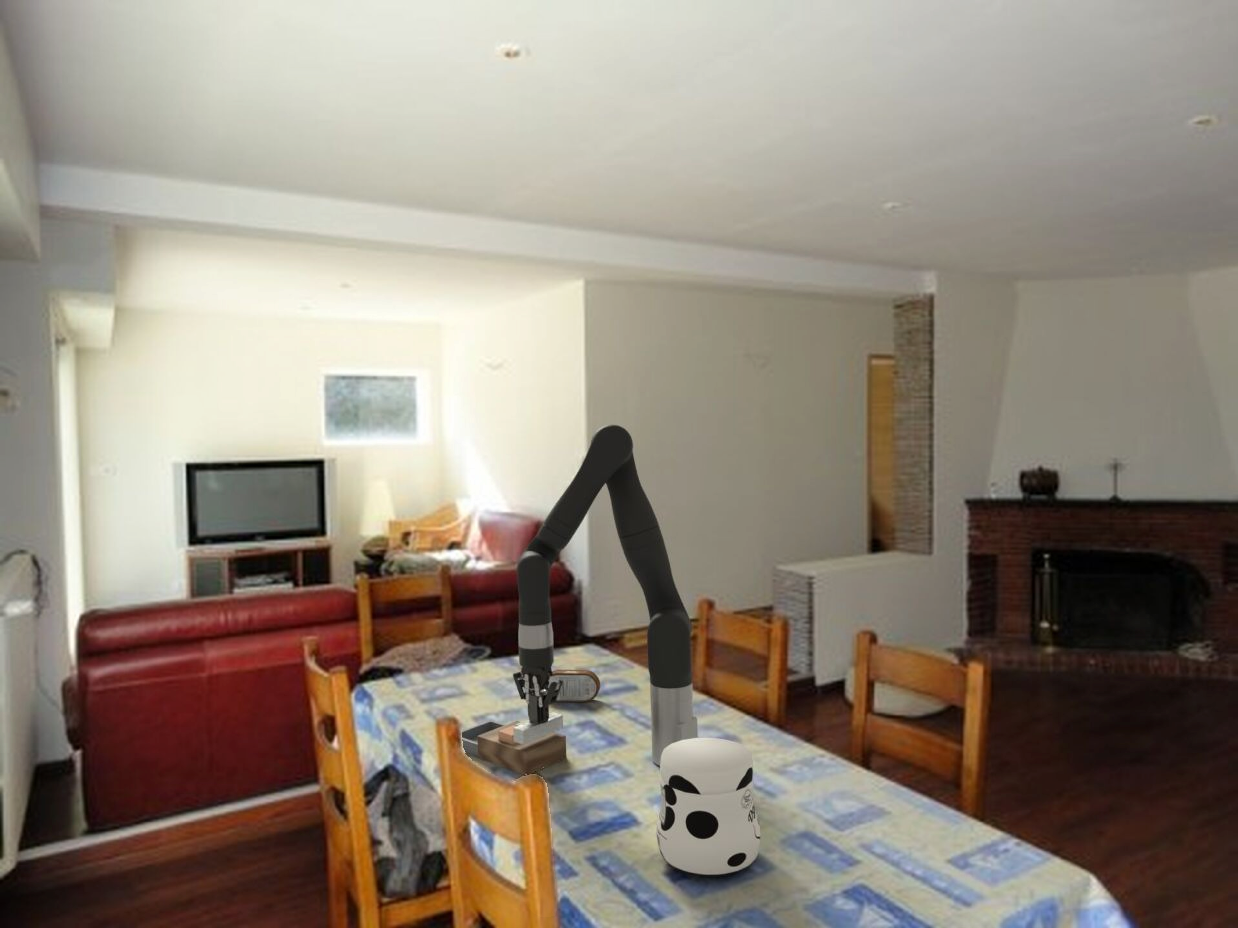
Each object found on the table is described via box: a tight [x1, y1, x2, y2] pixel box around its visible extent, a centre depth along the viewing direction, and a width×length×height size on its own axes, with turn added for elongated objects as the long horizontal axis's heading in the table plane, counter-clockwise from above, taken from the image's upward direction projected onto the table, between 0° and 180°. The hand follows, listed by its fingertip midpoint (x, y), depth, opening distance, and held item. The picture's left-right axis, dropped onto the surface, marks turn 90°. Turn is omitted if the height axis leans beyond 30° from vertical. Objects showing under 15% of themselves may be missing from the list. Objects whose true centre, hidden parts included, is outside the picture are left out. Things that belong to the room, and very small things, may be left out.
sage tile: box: [515, 718, 530, 726], centre depth 188 cm, size 4×4×2 cm
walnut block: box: [477, 720, 568, 776], centre depth 186 cm, size 16×12×5 cm
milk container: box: [656, 737, 761, 878], centre depth 139 cm, size 17×17×18 cm
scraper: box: [513, 693, 564, 745], centre depth 182 cm, size 3×12×9 cm, turn 139°
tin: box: [552, 669, 601, 703], centre depth 224 cm, size 15×3×8 cm, turn 84°
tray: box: [461, 719, 507, 759], centre depth 195 cm, size 10×12×3 cm
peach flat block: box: [498, 725, 517, 744], centre depth 184 cm, size 4×4×2 cm
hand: (538, 720), depth 182 cm, fingers closed on scraper, 2 cm apart
